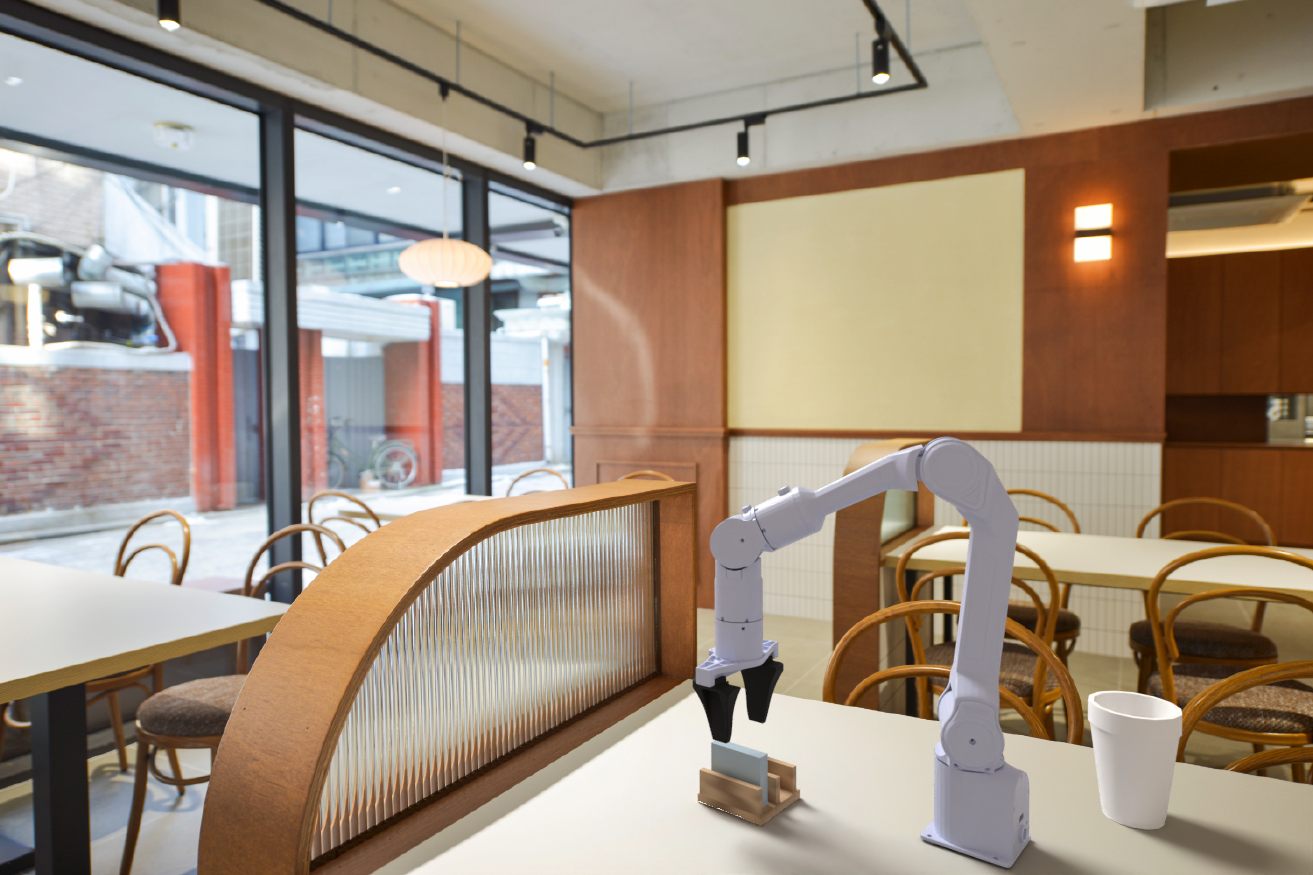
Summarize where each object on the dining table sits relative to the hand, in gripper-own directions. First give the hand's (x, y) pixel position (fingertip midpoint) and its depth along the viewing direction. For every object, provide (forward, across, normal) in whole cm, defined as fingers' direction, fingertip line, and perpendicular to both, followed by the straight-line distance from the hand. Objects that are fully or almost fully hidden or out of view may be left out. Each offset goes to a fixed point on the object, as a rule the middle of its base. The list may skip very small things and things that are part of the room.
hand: (739, 730), depth 96 cm
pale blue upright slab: (+8, 0, 0) cm, 8 cm away
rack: (+9, -2, 0) cm, 9 cm away
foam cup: (+10, -27, +36) cm, 46 cm away
